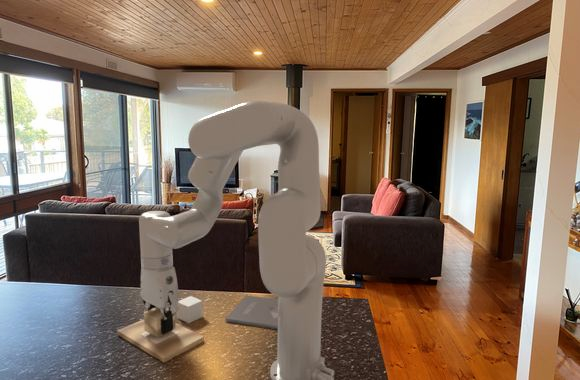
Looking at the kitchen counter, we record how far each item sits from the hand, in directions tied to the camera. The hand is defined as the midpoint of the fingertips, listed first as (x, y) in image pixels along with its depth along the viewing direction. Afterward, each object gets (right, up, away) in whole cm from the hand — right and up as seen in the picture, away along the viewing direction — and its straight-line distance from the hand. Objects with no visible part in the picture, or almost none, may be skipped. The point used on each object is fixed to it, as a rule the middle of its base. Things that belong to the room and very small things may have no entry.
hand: (160, 327), depth 104 cm
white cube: (+5, -1, +12) cm, 13 cm away
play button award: (+27, -2, +15) cm, 31 cm away
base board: (0, -3, 0) cm, 3 cm away
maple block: (0, -1, 0) cm, 1 cm away
